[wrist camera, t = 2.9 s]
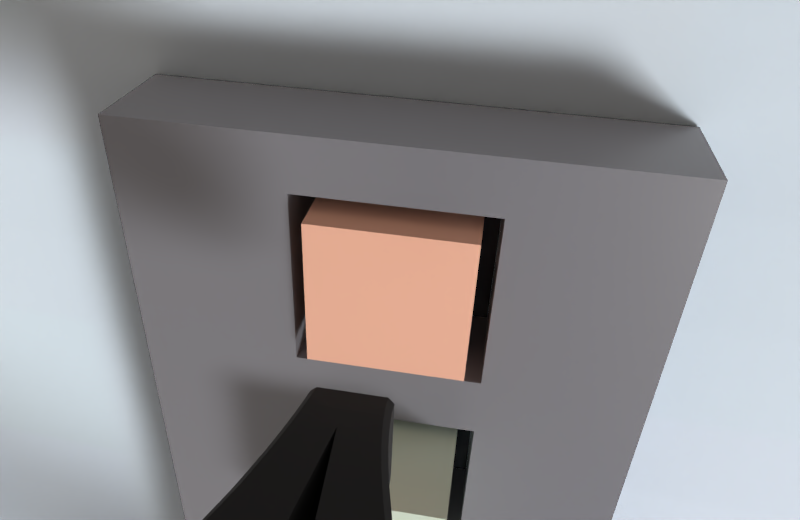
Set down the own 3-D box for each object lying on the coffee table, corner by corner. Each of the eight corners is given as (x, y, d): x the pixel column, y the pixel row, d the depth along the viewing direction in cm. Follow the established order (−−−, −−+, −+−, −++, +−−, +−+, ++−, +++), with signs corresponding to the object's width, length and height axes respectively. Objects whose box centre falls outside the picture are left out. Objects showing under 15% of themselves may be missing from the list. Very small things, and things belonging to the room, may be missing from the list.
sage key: (446, 513, 19) (435, 608, 17) (323, 493, 20) (295, 584, 17) (458, 424, 17) (446, 519, 15) (320, 404, 18) (288, 493, 15)
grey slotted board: (550, 618, 25) (552, 691, 23) (233, 562, 26) (208, 626, 24) (699, 126, 14) (727, 180, 12) (155, 74, 16) (98, 114, 14)
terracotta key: (472, 306, 18) (464, 380, 15) (336, 288, 18) (307, 358, 16) (488, 180, 16) (480, 245, 13) (334, 164, 16) (300, 223, 14)
